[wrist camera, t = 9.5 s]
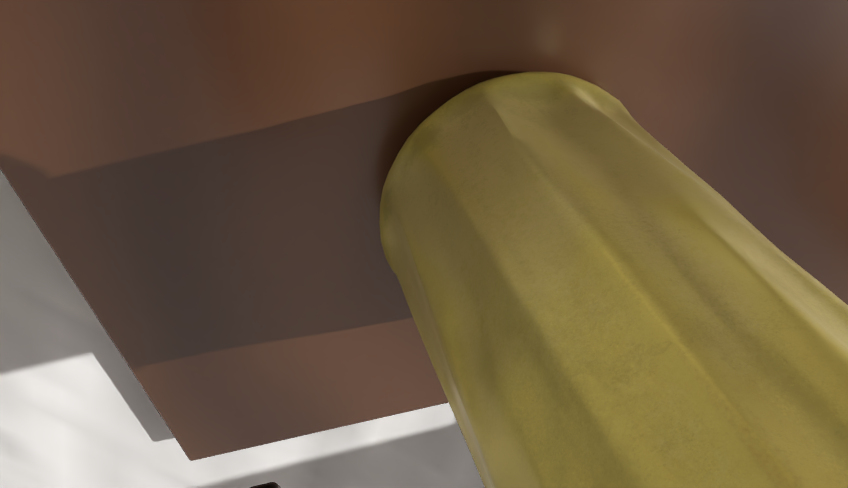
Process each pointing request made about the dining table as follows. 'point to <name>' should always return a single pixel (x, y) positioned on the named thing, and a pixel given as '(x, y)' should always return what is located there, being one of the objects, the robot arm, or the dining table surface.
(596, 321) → the vase
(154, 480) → the dining table surface
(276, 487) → the robot arm
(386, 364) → the board
